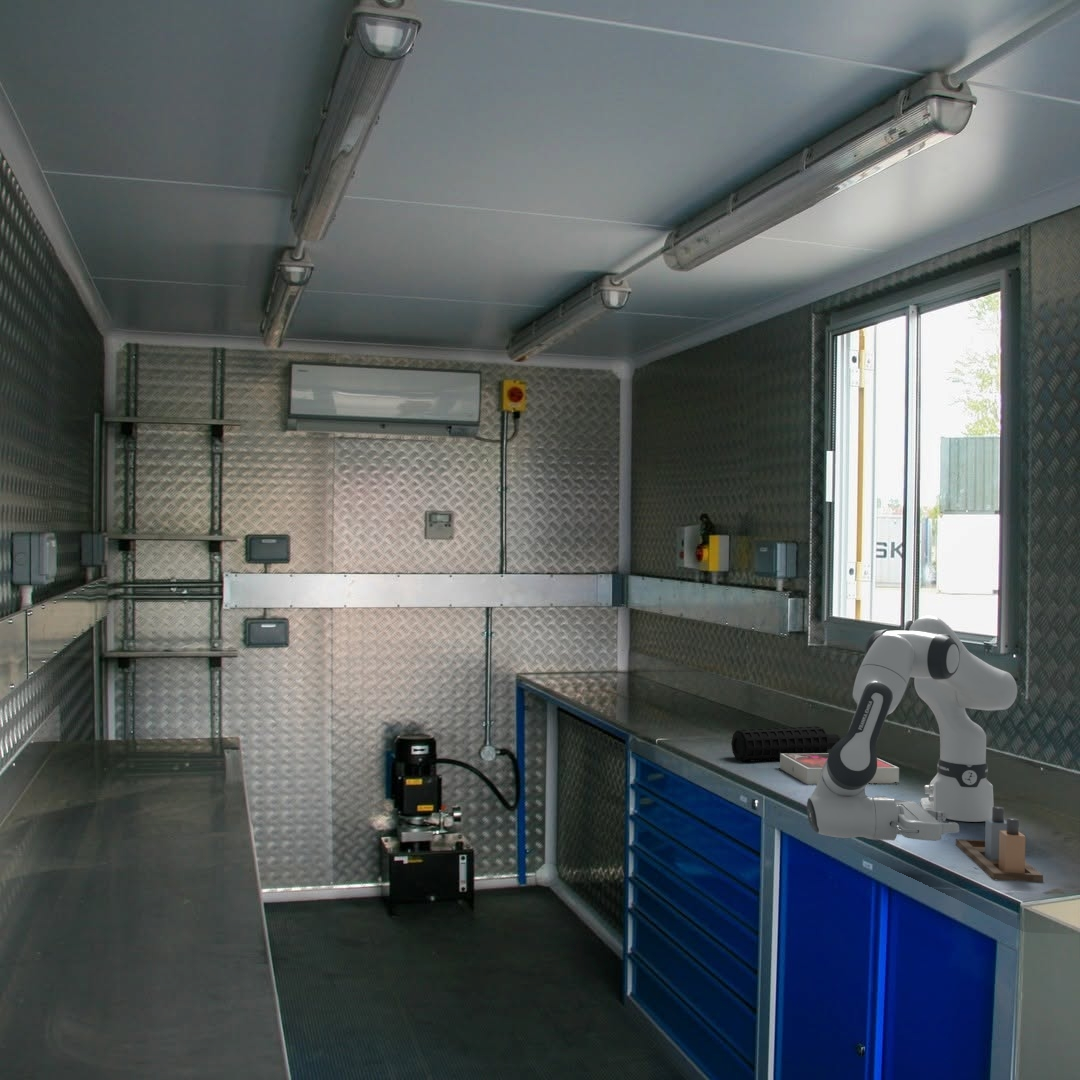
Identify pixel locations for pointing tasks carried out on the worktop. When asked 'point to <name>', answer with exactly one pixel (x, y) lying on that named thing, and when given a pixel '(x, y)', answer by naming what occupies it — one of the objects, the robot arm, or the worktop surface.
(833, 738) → the roller
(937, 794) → the robot arm
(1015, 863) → the terracotta plug
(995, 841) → the slate plug
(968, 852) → the plug dock
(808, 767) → the product packaging
